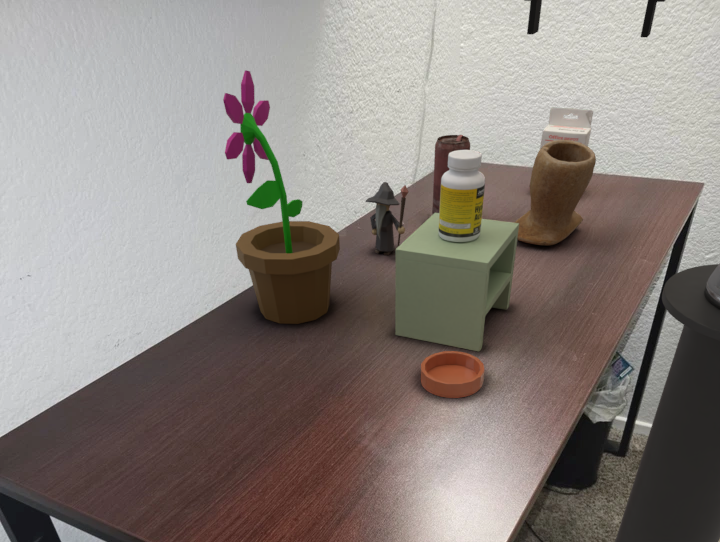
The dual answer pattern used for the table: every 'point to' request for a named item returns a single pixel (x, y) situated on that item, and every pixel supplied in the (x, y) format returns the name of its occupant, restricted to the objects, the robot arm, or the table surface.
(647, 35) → the robot arm
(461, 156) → the supplement bottle
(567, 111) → the ink cartridge box
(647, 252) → the table surface
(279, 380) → the table surface
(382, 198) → the wizard figurine
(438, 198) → the can
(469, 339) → the shelf
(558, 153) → the stone cup
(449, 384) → the holder
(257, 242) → the flowerpot
